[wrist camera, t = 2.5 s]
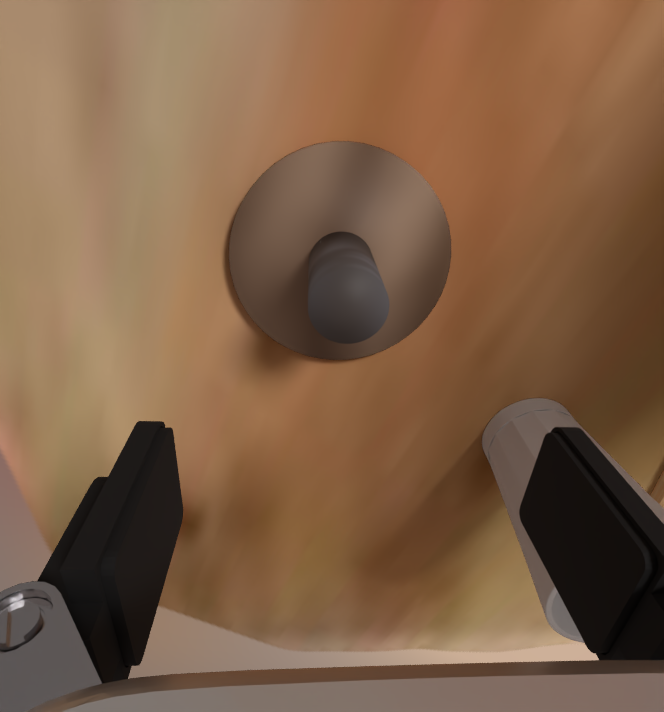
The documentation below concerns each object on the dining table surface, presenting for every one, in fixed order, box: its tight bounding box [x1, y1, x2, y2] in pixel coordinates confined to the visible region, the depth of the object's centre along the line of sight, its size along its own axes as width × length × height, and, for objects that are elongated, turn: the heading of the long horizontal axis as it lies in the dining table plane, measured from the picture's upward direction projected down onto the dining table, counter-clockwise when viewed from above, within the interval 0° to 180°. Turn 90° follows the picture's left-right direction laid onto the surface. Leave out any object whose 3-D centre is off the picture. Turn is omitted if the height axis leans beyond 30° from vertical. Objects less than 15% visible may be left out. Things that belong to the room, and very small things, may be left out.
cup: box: [482, 398, 664, 643], centre depth 27 cm, size 8×8×12 cm
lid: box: [229, 141, 451, 360], centre depth 23 cm, size 12×12×7 cm
